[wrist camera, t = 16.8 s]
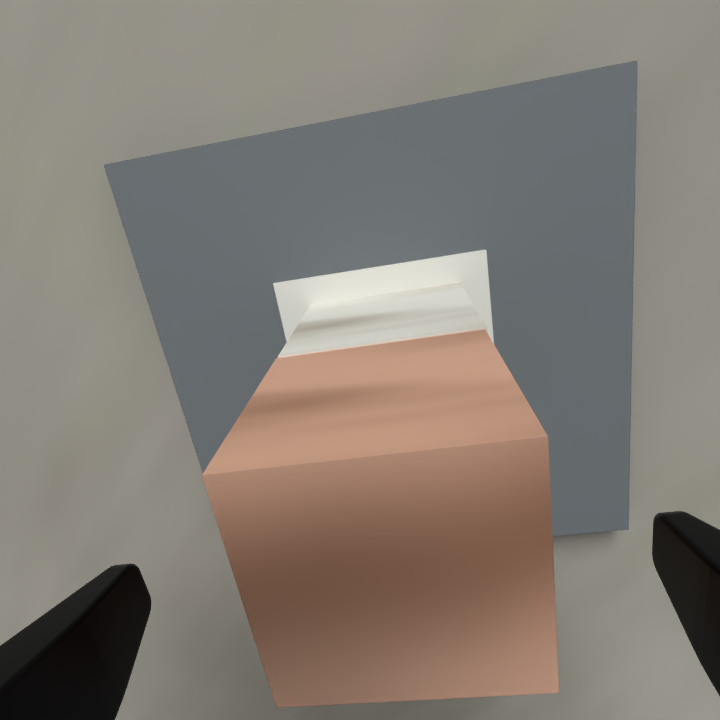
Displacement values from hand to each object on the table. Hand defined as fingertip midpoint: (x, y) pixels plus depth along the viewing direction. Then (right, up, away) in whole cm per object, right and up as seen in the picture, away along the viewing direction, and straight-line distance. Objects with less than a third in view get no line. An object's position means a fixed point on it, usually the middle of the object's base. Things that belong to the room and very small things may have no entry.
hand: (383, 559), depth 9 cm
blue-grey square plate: (+1, +4, +10) cm, 10 cm away
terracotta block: (0, +1, +4) cm, 4 cm away
